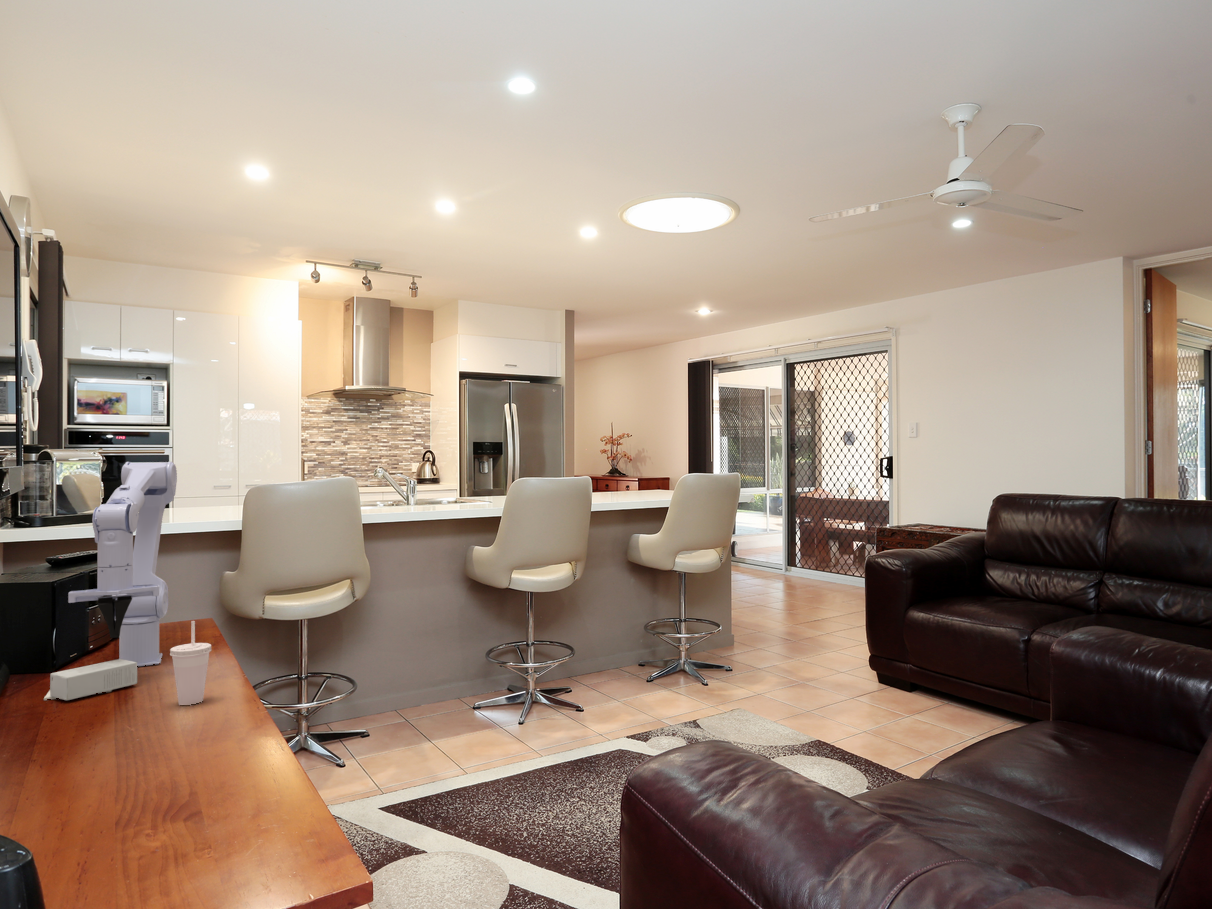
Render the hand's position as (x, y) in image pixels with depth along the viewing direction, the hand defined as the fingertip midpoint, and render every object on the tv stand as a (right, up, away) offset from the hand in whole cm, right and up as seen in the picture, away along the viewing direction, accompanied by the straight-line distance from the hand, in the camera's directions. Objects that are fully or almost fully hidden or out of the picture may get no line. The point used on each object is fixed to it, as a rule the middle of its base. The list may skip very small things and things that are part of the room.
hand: (115, 636), depth 142 cm
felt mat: (-4, -9, -4) cm, 10 cm away
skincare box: (+4, -6, -1) cm, 7 cm away
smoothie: (+22, -8, -13) cm, 27 cm away
